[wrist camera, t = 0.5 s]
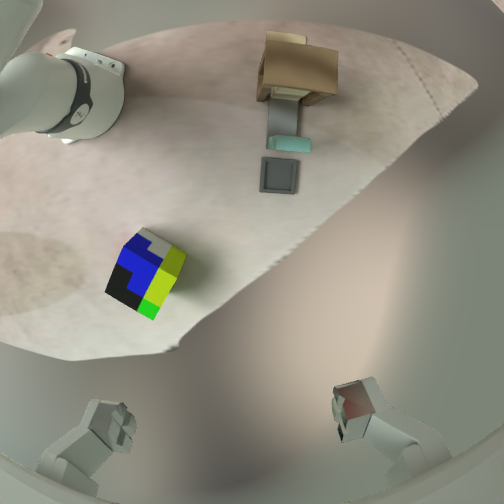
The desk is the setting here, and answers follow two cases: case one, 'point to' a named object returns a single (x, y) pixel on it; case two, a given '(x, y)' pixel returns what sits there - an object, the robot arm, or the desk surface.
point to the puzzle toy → (145, 273)
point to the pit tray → (278, 175)
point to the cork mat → (286, 37)
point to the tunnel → (298, 70)
